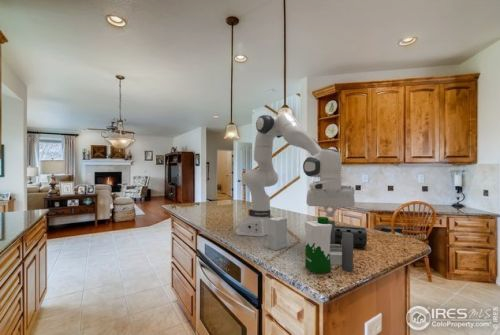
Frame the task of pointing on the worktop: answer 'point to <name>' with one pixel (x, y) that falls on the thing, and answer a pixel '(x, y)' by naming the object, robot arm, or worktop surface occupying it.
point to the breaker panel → (335, 254)
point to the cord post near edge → (347, 251)
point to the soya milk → (318, 245)
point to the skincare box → (277, 233)
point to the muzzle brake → (358, 235)
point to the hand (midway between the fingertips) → (329, 216)
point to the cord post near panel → (332, 232)
